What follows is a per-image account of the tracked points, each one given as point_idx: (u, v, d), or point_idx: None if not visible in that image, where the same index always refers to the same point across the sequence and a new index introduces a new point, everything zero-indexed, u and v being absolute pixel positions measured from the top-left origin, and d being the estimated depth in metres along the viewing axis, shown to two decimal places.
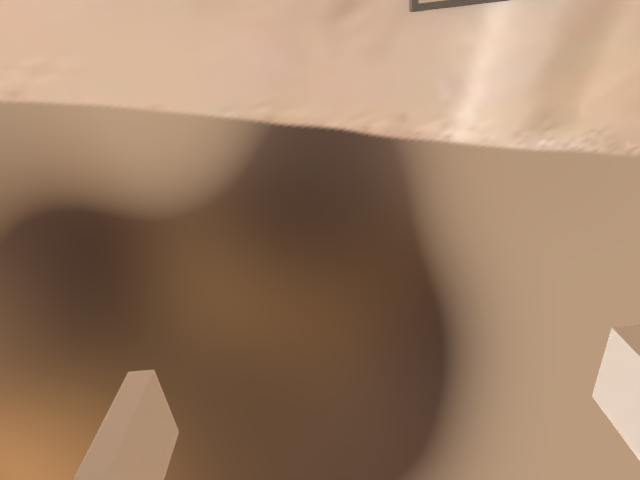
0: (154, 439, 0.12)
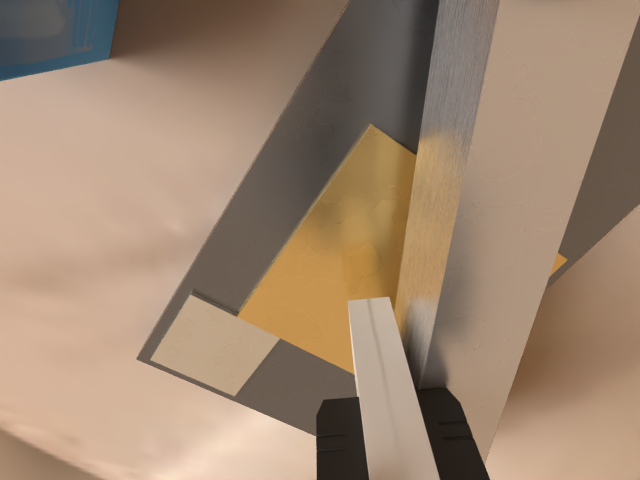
0: None
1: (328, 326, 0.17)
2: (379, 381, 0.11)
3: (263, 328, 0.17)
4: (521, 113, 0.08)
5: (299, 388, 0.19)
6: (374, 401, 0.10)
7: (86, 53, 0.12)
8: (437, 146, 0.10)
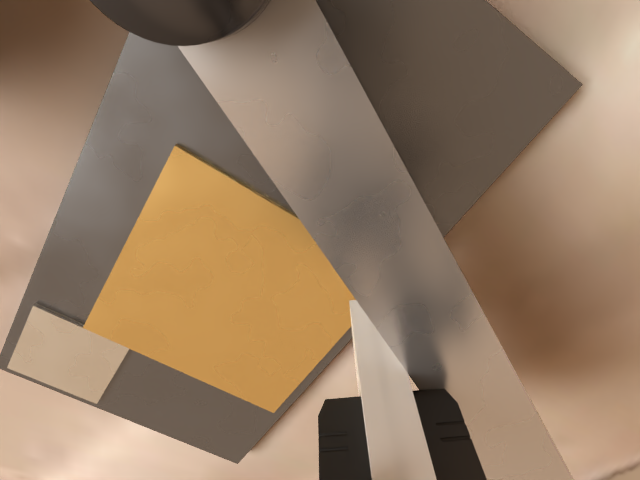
0: None
1: (174, 338, 0.17)
2: (377, 381, 0.11)
3: (110, 339, 0.17)
4: (289, 133, 0.08)
5: (160, 396, 0.19)
6: (376, 401, 0.10)
7: None
8: None
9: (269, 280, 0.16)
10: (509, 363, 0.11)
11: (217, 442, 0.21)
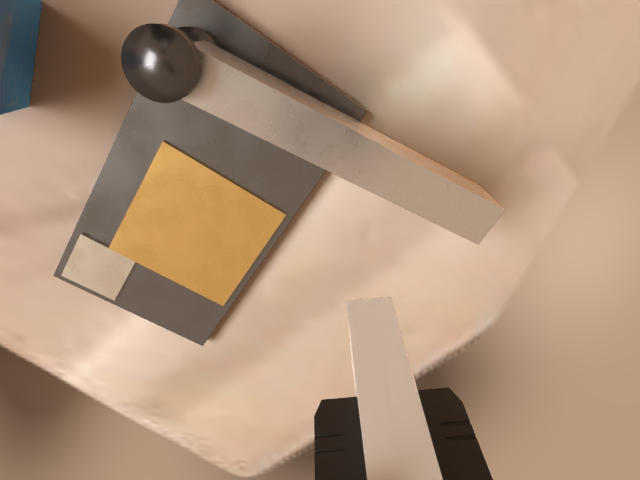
0: None
1: (162, 254, 0.30)
2: (381, 381, 0.11)
3: (124, 255, 0.30)
4: (234, 106, 0.20)
5: (153, 295, 0.31)
6: (372, 401, 0.10)
7: (13, 106, 0.24)
8: None
9: (216, 217, 0.28)
10: (391, 150, 0.21)
11: (189, 329, 0.33)
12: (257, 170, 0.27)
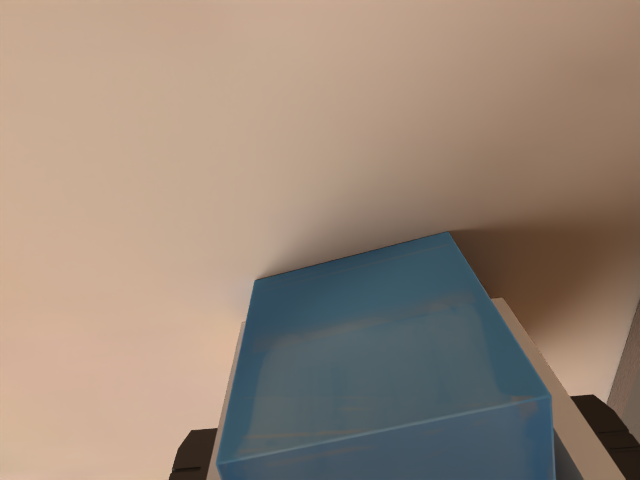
0: None
1: None
2: None
3: None
4: None
5: None
6: None
7: None
8: None
9: None
10: None
11: None
12: None
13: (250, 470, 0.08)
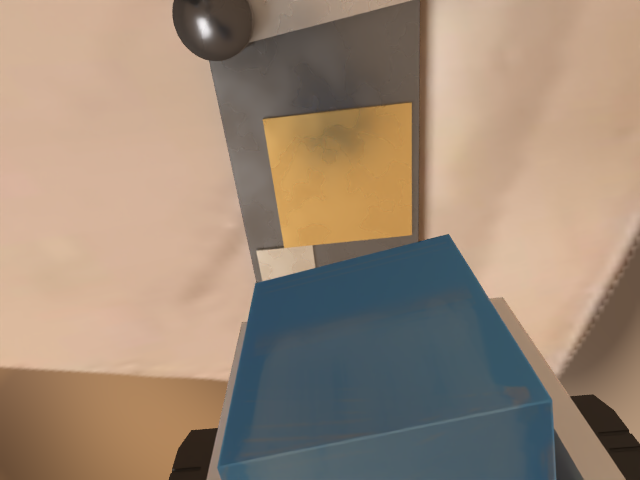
0: None
1: (328, 223, 0.29)
2: None
3: (300, 245, 0.30)
4: (297, 8, 0.18)
5: None
6: None
7: None
8: None
9: (350, 154, 0.27)
10: None
11: None
12: (356, 80, 0.25)
13: (252, 474, 0.08)
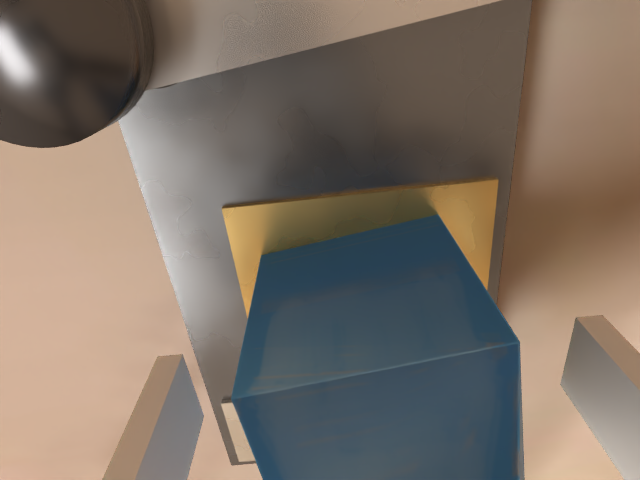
0: (184, 420, 0.12)
1: None
2: None
3: None
4: None
5: None
6: None
7: None
8: None
9: None
10: None
11: None
12: (397, 140, 0.13)
13: (261, 403, 0.09)
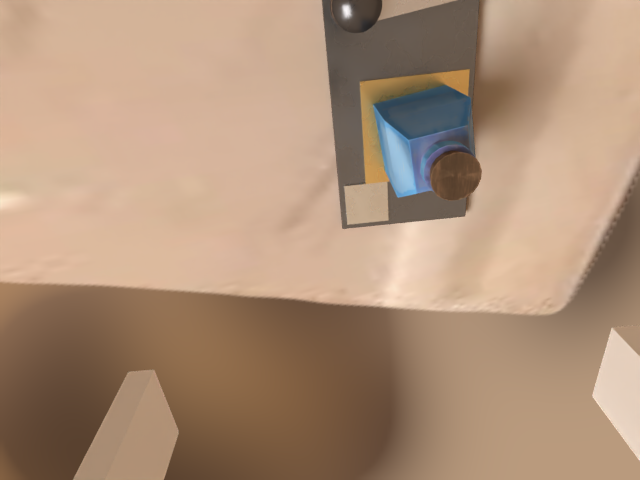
0: (154, 439, 0.12)
1: None
2: None
3: (378, 181, 0.39)
4: None
5: (411, 199, 0.40)
6: None
7: None
8: None
9: None
10: None
11: (449, 209, 0.40)
12: (430, 52, 0.34)
13: (394, 119, 0.30)
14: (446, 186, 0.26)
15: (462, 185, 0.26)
